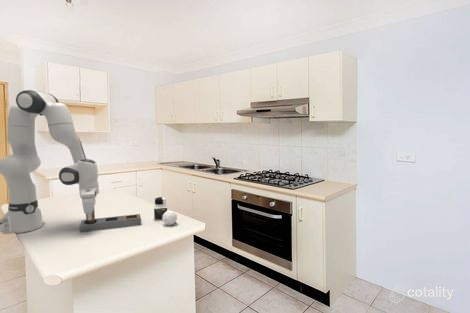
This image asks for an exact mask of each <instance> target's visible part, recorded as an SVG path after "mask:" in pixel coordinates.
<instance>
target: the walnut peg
mask: <svg viewBox="0 0 470 313" xmlns="http://www.w3.org/2000/svg"><path fill="white" fill-rule="evenodd" d="M95 216H96V215H95V208H94V209H93V212H92V219H91V220H88V217H87V213H85V220H86V224H88V223H95V219H96V217H95Z"/></svg>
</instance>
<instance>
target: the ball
mask: <svg viewBox="0 0 470 313" xmlns="http://www.w3.org/2000/svg"><path fill="white" fill-rule="evenodd" d="M177 219H178V215H177V213H176V212H175V211H173V210H167V212H165V213H164V214H163V217H162V220H161V221H162V222H163V223H164V224H165V225H166V226H172V225H174V224H176V222H177Z"/></svg>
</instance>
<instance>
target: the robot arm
mask: <svg viewBox="0 0 470 313" xmlns="http://www.w3.org/2000/svg"><path fill="white" fill-rule="evenodd" d="M38 116H44V117H45V119H46V124H47V129H48V131H49V132H48V133H49V134H50V137H51V139H53V140H54V141H55V142H57V143H60V144H62V145H63V146H65V147H66V148H68V150H69V152H70V155H71V158H72V161H73V164H71V165H68V166H65V167H63V168H61V169H60V171H59V172H58V178H59V181H60V182H61V183H62V184H63V185H65V186H73V185H76V184H77V185H78V189H79V198H80V199H81V202H82V203H81V204H82V209H83V212H84V214H86V213H87V217H88V220H91V219H92V212H93V209H94V210H95V206H96V197H97V195H98V194H99V193H100V191H99V190H100V189H99V182H98V178H99V173H98V172H99V171H98V165H97V162H96V161H95V160H93V159H89V158H87V157H86V153H85V151H84V148H83V145H82V142H81V140H80V137H79V136H78V135H77V132H76V129H75V126H74V121H73V117H72V115H71V111H70V109H69V107H68V106H67V104H65V103H63V102H59V100H58V98H57V97H56V96H54V95H53V94H50V93H46V92H44V91H39V90H38V91H37V90H32V89H31V90H30V89H26V90H22V91H19V93H17V95H16V98H15V104H12V105H11V106H10V108H9V111H8V117H7V129H6V130H7V131H6V132H7V133H6V134H7V136H6V138H7V140H6V141H7V143H8V144H9V145H10V148H11V151H12V154H9V155H6V156H4V157H2V159H0V174H1V175H2V176H3V178H4V180H5V182H6V185H7V188H8V198H9V203H8V206H7V207H8V208H7V210H8V211H6V213H5V214H4V215H3V216H2V218H1V219H0V232H1V233H2V234H3V235H10V234H18V233H21V234H22V233H27V232H31V231H36V230H38V229H40V228H41V227H42V226H43V225H45V224H46V221H45V220H44V221H43V216H42V210H41V208H39V202H38V199H37V186H36V184H35V183H34V182H33V180H32V178H31V173H34V172H35V171H37V169H39V167H40V166H41V158H40V157H39V155H38V151H37V147H36V141H35V140H36V139H35V138H36V137H35V136H36V127H35V126H36V118H37V117H38Z"/></svg>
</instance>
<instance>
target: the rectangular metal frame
mask: <svg viewBox="0 0 470 313" xmlns="http://www.w3.org/2000/svg"><path fill="white" fill-rule="evenodd" d="M136 226H142V217H141V214H140V213H137V214H128V215H127V214H126V215H125V214H124V215H116V216H107V217H99V218H95V223H88V224H86V219H82V220H81V221H80V224H79V233H85V232H91V231H93V232H95V231H102V230H108V229H110V230H111V229H118V228H125V227H126V228H127V227H136Z"/></svg>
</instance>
